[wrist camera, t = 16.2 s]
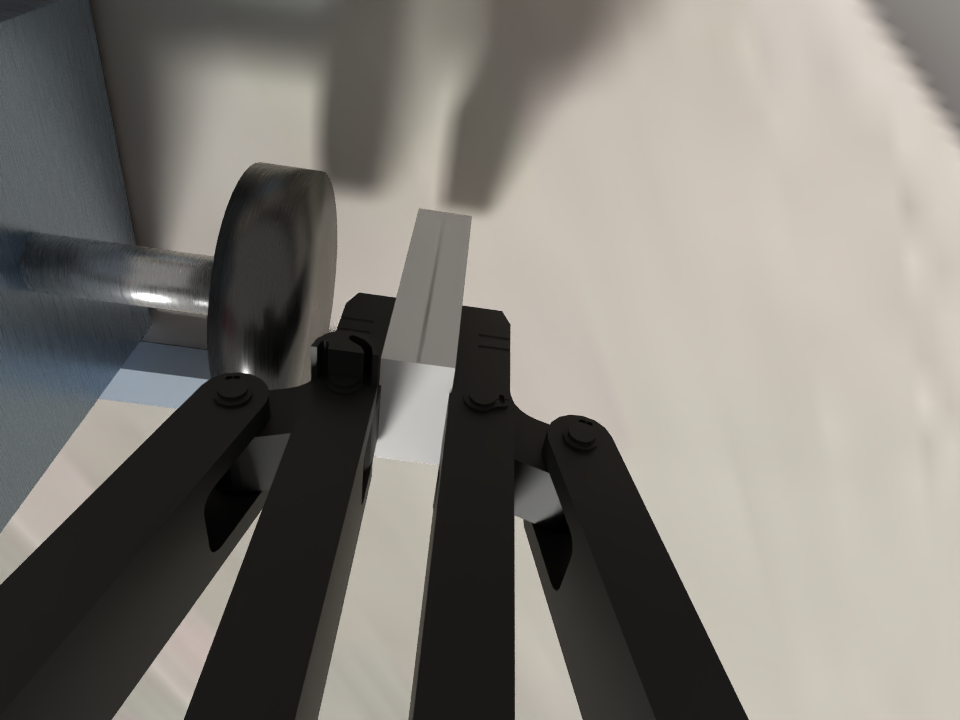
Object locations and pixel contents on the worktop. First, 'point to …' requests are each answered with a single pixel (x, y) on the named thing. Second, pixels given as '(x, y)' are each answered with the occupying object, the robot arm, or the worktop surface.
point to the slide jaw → (126, 251)
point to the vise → (159, 375)
